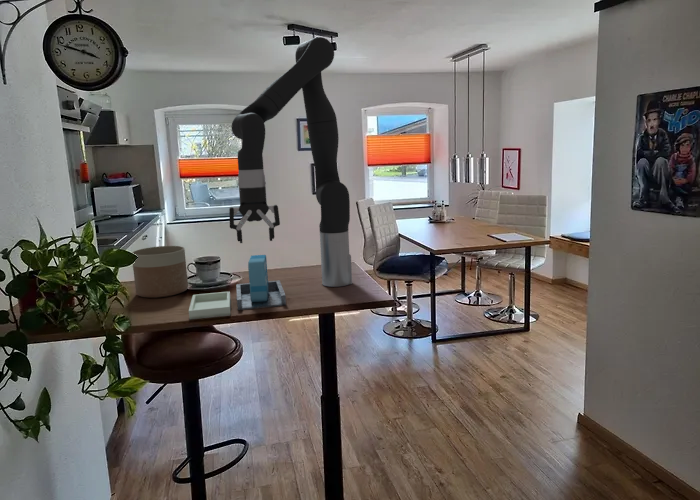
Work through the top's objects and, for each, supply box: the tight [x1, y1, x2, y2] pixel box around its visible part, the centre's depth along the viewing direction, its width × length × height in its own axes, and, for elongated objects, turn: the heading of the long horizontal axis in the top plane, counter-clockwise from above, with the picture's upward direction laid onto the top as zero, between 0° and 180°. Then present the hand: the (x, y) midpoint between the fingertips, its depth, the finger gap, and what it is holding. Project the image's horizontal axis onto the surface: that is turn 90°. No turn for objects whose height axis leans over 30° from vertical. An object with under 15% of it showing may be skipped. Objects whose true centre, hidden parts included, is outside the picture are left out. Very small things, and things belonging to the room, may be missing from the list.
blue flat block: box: [247, 254, 269, 302], centre depth 154 cm, size 12×4×12 cm, turn 6°
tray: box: [188, 290, 231, 320], centre depth 148 cm, size 11×17×2 cm, turn 13°
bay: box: [235, 279, 287, 311], centre depth 155 cm, size 13×18×3 cm
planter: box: [131, 245, 189, 299], centre depth 167 cm, size 16×16×14 cm
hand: (256, 241), depth 152 cm, fingers open, 8 cm apart
